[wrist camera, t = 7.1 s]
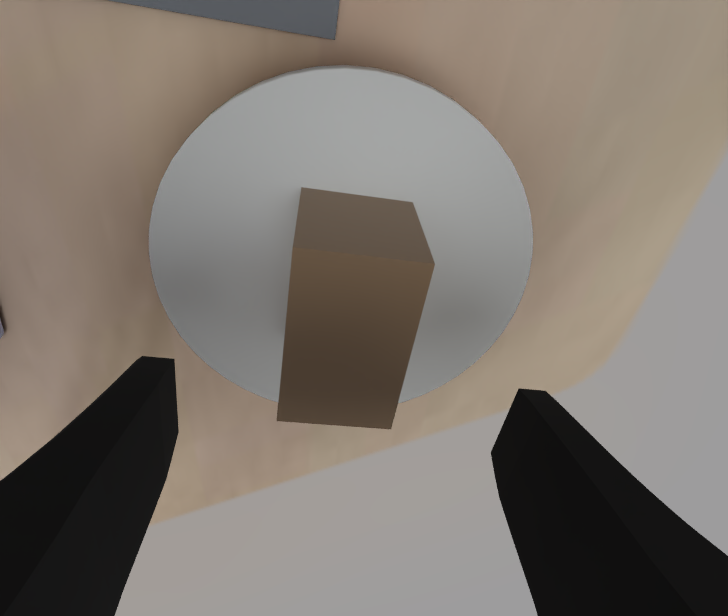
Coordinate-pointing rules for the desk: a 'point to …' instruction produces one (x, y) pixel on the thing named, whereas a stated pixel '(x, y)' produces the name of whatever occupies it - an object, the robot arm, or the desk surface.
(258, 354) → the lid
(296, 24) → the mat
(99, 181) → the desk surface
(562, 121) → the desk surface
